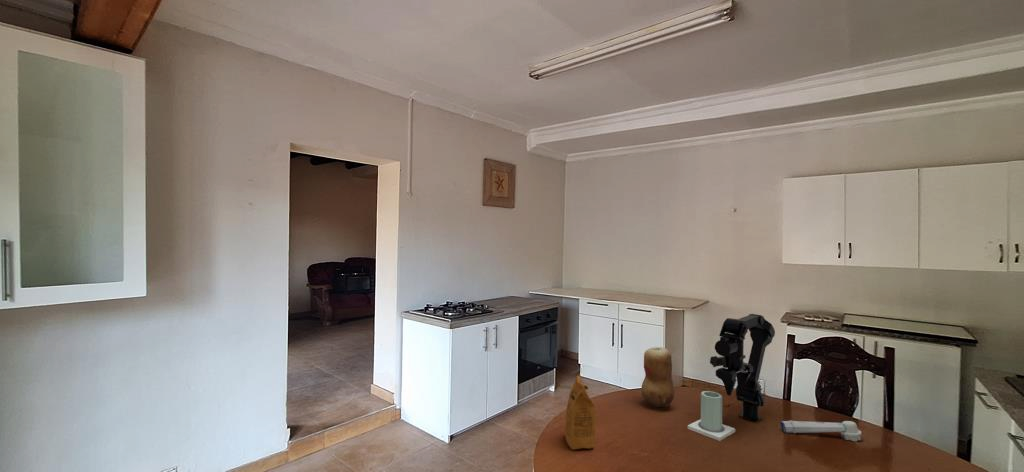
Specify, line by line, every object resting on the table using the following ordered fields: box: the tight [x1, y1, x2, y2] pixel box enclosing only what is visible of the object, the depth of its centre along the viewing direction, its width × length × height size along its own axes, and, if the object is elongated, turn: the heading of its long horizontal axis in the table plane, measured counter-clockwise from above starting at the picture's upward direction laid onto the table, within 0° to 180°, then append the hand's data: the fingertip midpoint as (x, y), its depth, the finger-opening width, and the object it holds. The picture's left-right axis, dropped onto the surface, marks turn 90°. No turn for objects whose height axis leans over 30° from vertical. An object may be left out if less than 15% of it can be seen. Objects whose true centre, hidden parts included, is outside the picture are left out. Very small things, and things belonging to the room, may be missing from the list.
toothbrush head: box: [779, 419, 862, 442], centre depth 152 cm, size 5×7×25 cm
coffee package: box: [564, 375, 597, 450], centre depth 144 cm, size 10×12×22 cm
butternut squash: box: [640, 346, 676, 408], centre depth 177 cm, size 14×13×25 cm
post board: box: [687, 418, 736, 442], centre depth 155 cm, size 12×12×5 cm
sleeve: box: [700, 390, 723, 431], centre depth 155 cm, size 7×7×12 cm
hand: (734, 392), depth 158 cm, fingers open, 9 cm apart
